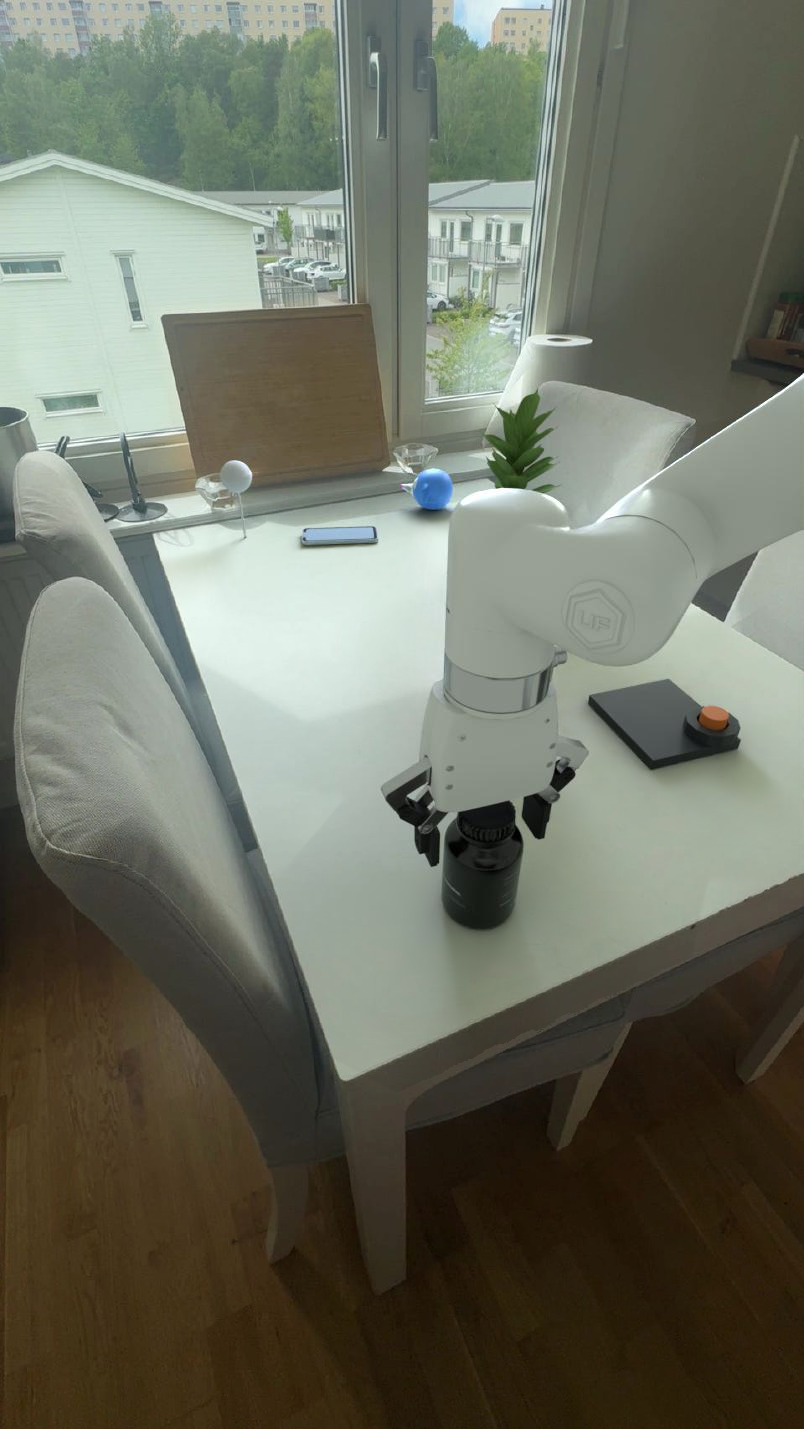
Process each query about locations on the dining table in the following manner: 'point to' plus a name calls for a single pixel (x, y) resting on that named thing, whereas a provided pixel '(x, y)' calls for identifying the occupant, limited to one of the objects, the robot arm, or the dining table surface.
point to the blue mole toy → (431, 489)
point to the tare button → (713, 718)
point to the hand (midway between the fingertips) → (481, 840)
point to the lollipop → (236, 481)
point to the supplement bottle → (482, 866)
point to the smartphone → (339, 535)
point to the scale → (662, 723)
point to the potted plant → (520, 447)
